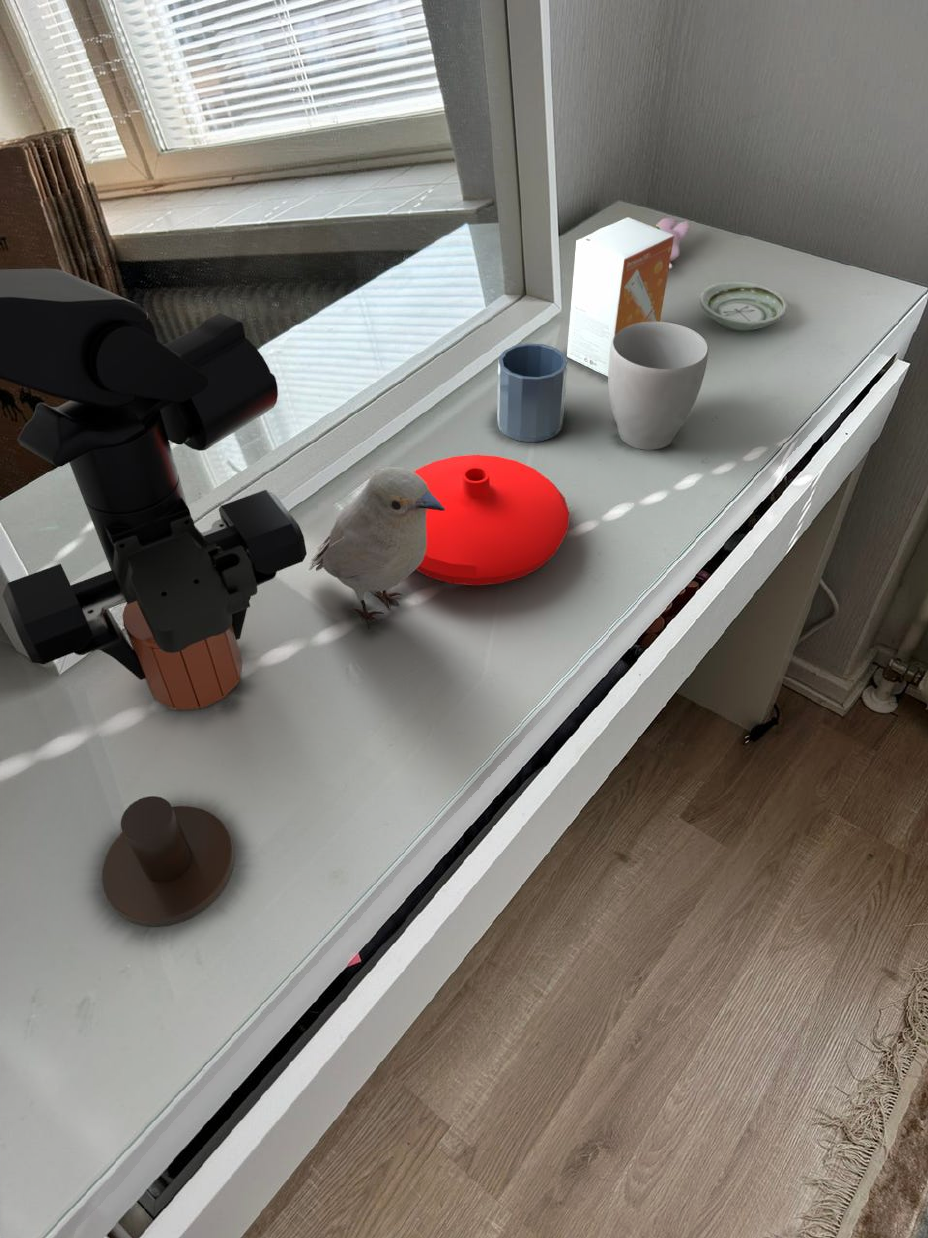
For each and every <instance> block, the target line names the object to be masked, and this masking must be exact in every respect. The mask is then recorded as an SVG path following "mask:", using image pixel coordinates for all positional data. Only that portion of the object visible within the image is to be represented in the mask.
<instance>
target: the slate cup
mask: <svg viewBox="0 0 928 1238" xmlns="http://www.w3.org/2000/svg"><path fill="white" fill-rule="evenodd" d="M568 363H569V362H568V359H567V355H566V354H565V353H564V352H562V351H560V350H559V349H558V348H556V347H553V346H551V345H548V344H544V343H532V342H528V343H527V342H526V343H522V344H517V345H513V346H511V347H509V348H507V349H505V350H503V351H502V353H501V354H500V356H499V357H498V359H497V408H496V409H497V410H496V412H497V415H496V416H497V417H496V418H497V426H498V429H499V430H500V432H501V433H502V434H503V435H504V436H506V437H508V438H510V439H512V440H515V441H518V442H524V443H537V442H539V443H540V442H544V441H547V440H550V439H552V438H553V437H556V436H557V435H558V434H559V433H560V431H561V430H562V427H563V422H564V416H565V415H564V414H565V403H566V402H565V401H566V391H567V390H566V389H567V378H568V377H567V376H568Z"/></svg>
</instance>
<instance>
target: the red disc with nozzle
mask: <svg viewBox="0 0 928 1238" xmlns="http://www.w3.org/2000/svg"><path fill="white" fill-rule="evenodd" d="M413 472H415V473H416V474H417V475H418V476H420V477H421V478H422V479H423V480H424V481H425V482H426V484H427V486H428V489H429V490H430V492H431V493H432V494H433V496H434V497H435V498H436V499H437V500H438V501H439V502H440V504H441V505H442V506H443V507H444V509H445V510H444V511H443V510H442V511H440V510H433V509H427V512H426V534H427V547H426V553H425V556H424V558H423V561H422V562H421V564H420V565H419V566H418V567H417V568H416V569H415V570H414V571H417V572H418V573H421V574H423V575H424V576H427V577H428V578H431V579H434V580H438V581H442V582H446V583H450V584H453V585H454V584H455V585H466V586H485V585H495V584H502V583H505V582H510V581H512V580H515V579H519V578H522V577H525V576H527V575H529V574H530V573H532V572H534V571H536V570H539V568H541V567H542V566H544V565H545V564H546V563H547V562H548V561H549V560H550V559H551V558H552V557H553V556H554V555H555V554H556V553H557V551H558V549H559V548H560V546H561V543H562V542H563V540H564V538H565V536H566V534H567V532H568V530H569V523H570V511H569V508H568V504H567V502H566V497H564V495H563V494H562V493H561V492H560V490H559V489H558V488H557V486H556V485H555V484H554V483H553V482H552V481H551V480H550V479H548V477H546V476H545V475H543V474H542V473H541V472H539V471H538V470H536V468H533V467H531V466H529V465H526V464H524V463H522V462H520V461H517V460H513V459H510V458H505V457H503V456H501V457H500V456H496V455H486V454H485V455H483V454H469V455H468V454H467V455H457V456H451V457H446V458H443V459H439V460H436V461H432V462H430V463H428V464H426V465H424V466H422V467H419V468H417V469H416V470H414V471H413Z"/></svg>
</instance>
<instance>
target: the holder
mask: <svg viewBox="0 0 928 1238" xmlns="http://www.w3.org/2000/svg"><path fill="white" fill-rule="evenodd" d="M120 828H121V832H120V834H119V835H118V836H117V837H116V838H115V840H114V841H113V842H112V843H111V846H110V847H109V849H108V851H107V853H106V856H105V858H104V861H103V866H102V872H101V880H102V888H103V891H104V895H105V897H106V899H107V901H108V902H109V903H110V905H111V906H112V908H113V910H114V911H115V912H117V913H118V915H120V917H121V918H123V919H125V920H127V921H129V922H131V923H133V924H137V925H140V926H146V927H166V926H172V925H176V924H180V923H182V922H185V921H188V920H189V919H191V918H193V917H195V916H197V915H198V914H200V913H202V912H203V911H204V910H206V909H207V908H209V906H210V905H212V904H213V903H214V902H215V901H216V900H217V899H218V897H219V896H220V895H221V894H222V892H223V891H224V889H225V888H226V886H227V885H228V883H229V880H230V878H231V875H232V873H233V870H234V869H233V868H234V864H235V849H234V843H233V840H232V838H231V835H230V833H229V831H228V829H227V827H226V825H225V824H224V823H223V822H222V821H221V819H219V818H218V817H217V816H215V815H214V814H212V813H211V812H209V811H207V810H204V809H202V808H199V807H194V806H187V805H177V806H172V804H171V803H170V801H168V800H167V799H166V798H163V797H161V796H156V795H151V796H145V797H141V798H139V799H136V800H135V801H134V802H132V803H131V804H129V806H128V807H127V808H126V809H125V810H124V812H123V813H122V816H121V819H120Z"/></svg>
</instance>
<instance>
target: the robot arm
mask: <svg viewBox="0 0 928 1238" xmlns="http://www.w3.org/2000/svg"><path fill="white" fill-rule="evenodd" d="M244 326H245V325H244V322H242V321H240V320H239V319H235V318H233V317H231V316H229V315H227V314H224V313H221V312H218V313H217V314H214V315H212V316H210V317H208V318H206V320H204V321H203V322H201V324H199V325H198V326H197V327H196V328H194V329H192V330H190V331H188V332H186V333H184V334H182V335H181V336H179V337H176V338H175V339H173V340H170V341H169V342H167V343H164V344H162V343H161V342H159V341H158V339H157V333H156V330H155V325H154V324H153V322H152V321H151V319H150V317H149V313H148V311H147V310H146V309H145V308H143V307H142V306H141V305H140V304H138V303H136V302H133V301H131V300H129V299H127V298H125V297H122V296H120V295H118V294H116V293H114V292H111V291H109V290H107V289H105V288H102V287H100V286H98V285H96V284H93V283H91V282H89V281H87V280H85V279H82V278H80V277H79V276H76V275H73V274H71V273H70V272H67V271H63V270H61V269H58V268H49V267H48V268H47V267H46V268H9V269H8V268H6V269H5V268H3V269H2V268H1V269H0V380H1V381H5V382H9V383H11V384H15V385H17V386H19V387H24V388H27V389H30V390H32V391H36V392H39V393H41V394H45V395H47V396H51V397H54V398H59V399H62V400H66V402H65V403H63V404H61V405H59V406H50V405H48V404H46V403H45V402H38V403H37V404H36V405H35V410H34V413H33V415H32V417H31V418H30V420H29V421H27V422H26V423H25V424H24V426H23V428H22V430H21V432H20V434H19V435H18V438H17V441H18V444H19V445H20V446H21V447H23V448H25V449H26V450H28V451H29V452H31V453H33V454H35V455H37V456H38V457H40V458H42V459H43V460H45V461H47V462H48V463H50V464H51V465H53V466H55V467H58V468H61V467H64V466H66V465H67V464H69V466H70V468H71V471H72V473H73V475H74V478H75V481H76V483H77V487H78V489H79V491H80V494H81V496H82V499H83V502H84V504H85V506H86V509H87V512H88V514H89V517H90V519H91V523H92V524H93V527H94V530H95V532H96V534H97V538H98V540H99V542H100V545H101V548H102V550H103V553H104V555H105V558H106V560H107V563H108V566H109V568H110V570H109V571H105V572H103V573H100V574H97V575H95V576H92V577H90V578H89V577H88V578H87V579H84V580H81V581H79V582H76V583H73V584H71V583H70V580H69V579H68V576H67V574H66V572H65V570H64V568H63V566H62V564H61V563H58V564H55V565H54V566H50V567H47V568H45V569H42V570H40V571H37V572H33V573H31V574H27V575H25V576H23V577H20V578H17V579H14V580H12V581H9V582H7V583H6V585H5V587H4V590H3V592H2V597H3V600H4V602H5V605H6V608H7V610H8V613H9V616H10V618H11V621H12V623H13V625H14V628H15V632H16V634H17V635H18V638H19V640H20V642H21V644H22V647H23V648H24V650H25V652H26V654H27V656H28V658H29V660H30V662H31V663H33V664H38V665H46V664H48V663H51V662H54V661H56V660H59V659H60V658H61V659H62V658H63V657H66V656H68V655H71V654H75V655H77V656H84V655H86V654H90V653H92V652H95V651H101V652H103V653H104V654H106V655H108V656H110V657H112V658H113V659H114V660H116V661H117V662H118V663H119V664H121V665H122V666H123V667H124V668H125V669H126V670H127V671H129V672H130V673H131V674H133V675H134V676H135V677H136V678H138V679H139V681H142V680H145V678H146V677H145V674H144V672H143V669H142V667H141V664H140V662H139V660H138V658H137V656H136V654H135V652H134V650H133V648H132V645H131V643H130V641H129V639H127V638H128V637H126V635H125V634H124V632H123V630H122V629H121V627H120V625H119V624H118V622H117V621H116V618H115V617H114V616H113V614H112V613H111V611H110V609H112V608H115V607H118V606H120V605H122V604H125V603H126V604H130V603H132V602H135V601H137V603H138V606H139V608H140V610H141V612H142V614H143V616H144V618H145V620H146V623H147V625H148V627H149V629H150V631H151V633H152V635H153V637H154V640H155V642H156V644H157V645H158V647H159V648H160V649H161V650H163V651H165V652H168V653H175V652H178V651H181V650H184V649H185V648H187V647H188V646H190V645H192V644H194V643H197V642H199V641H202V640H204V639H207V638H209V637H211V636H217V635H220V634H222V633H224V632H226V631H227V630H228V629H229V628H230V627H231V624H232V627H233V630H234V634H235V637H236V641H238V640H240V639H241V636H242V633H243V629H244V628H243V627H244V623H245V619H246V617H247V611H248V608H250V607H251V604H250V601H251V598H252V597H253V596H255V595H257V593H258V586H260V585H262V584H264V583H267V582H269V581H272V580H273V579H274V578H275V577H276V576H277V573H278V572H280V571H282V570H285V569H287V568H290V567H292V566H295V565H297V564H299V563H300V564H301V563H303V562H304V560H305V558H306V557H307V554H308V553H307V547H306V542H305V536H304V534H303V531H302V529H301V527H300V524H299V523H298V522H297V521H296V519H295V518H294V516H293V515H292V514H291V513H290V511H289V510H288V509H287V507H286V506H285V505H284V504H283V503H282V501H281V500H280V499H279V498H278V496H277V494H275V493H274V492H271V491H269V490H267V489H263V490H261V491H259V492H258V491H257V492H255V493H253V494H250V495H247V496H244V497H241V498H238V499H236V500H233V501H230V502H227V503H225V504H222V505H220V506H219V508H218V512H219V517H220V519H218V520H215V521H214V522H213V523H212V524H211V528H210V529H208V530H206V531H203V532H201V531H200V530H199V529H198V527H197V526H196V525H195V521H194V519H193V517H192V514H191V511H190V508H189V506H188V503H187V502H188V501H187V499H186V495H185V492H184V489H183V485H182V482H181V478H180V473H179V471H178V468H177V463H176V461H175V457H174V454H173V450H172V447H171V444H170V442H171V443H173V444H175V445H179V446H180V445H183V444H184V445H185V446H187V447H188V448H190V449H192V450H195V451H200V452H201V451H206V450H208V449H210V448H211V447H213V446H215V445H216V444H218V443H219V442H221V441H223V440H224V439H226V438H227V437H229V436H231V435H232V434H233V433H235V432H237V431H238V430H240V429H242V428H243V427H245V426H246V425H248V424H250V423H252V422H253V421H255V420H256V419H258V418H259V417H261V416H263V415H264V414H266V413H268V412H269V411H271V410H272V409H273V408H274V407H275V406H276V404H277V402H278V397H279V390H278V382H277V378H276V376H275V375H274V374H273V372H271V370H270V368H269V366H268V364H267V362H266V360H265V358H264V357H263V356H262V354H261V352H260V351H259V350H258V348H257V347H256V346H255V345H254V344H253V343H252V342H251V341H250V340H249V339H248V338H247V335H246V332H245V331H246V330H245V327H244Z"/></svg>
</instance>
